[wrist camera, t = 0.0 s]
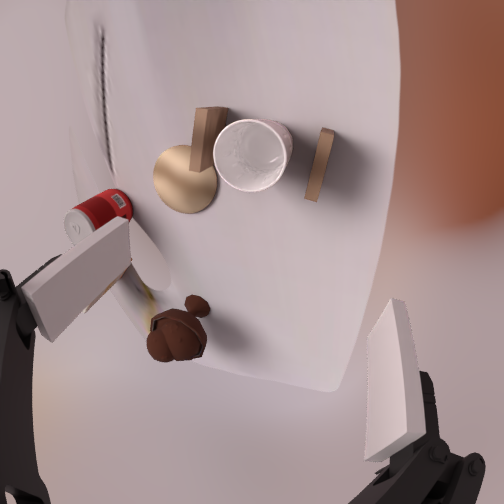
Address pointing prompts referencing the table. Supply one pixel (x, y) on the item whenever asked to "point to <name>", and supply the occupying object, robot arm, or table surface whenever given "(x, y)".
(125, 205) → the canned food
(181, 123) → the table surface
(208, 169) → the cork coaster
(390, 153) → the table surface
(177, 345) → the ice cream bowl
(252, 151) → the white cup
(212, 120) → the walnut cradle
